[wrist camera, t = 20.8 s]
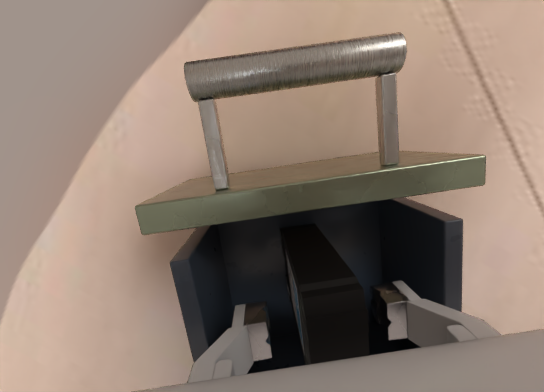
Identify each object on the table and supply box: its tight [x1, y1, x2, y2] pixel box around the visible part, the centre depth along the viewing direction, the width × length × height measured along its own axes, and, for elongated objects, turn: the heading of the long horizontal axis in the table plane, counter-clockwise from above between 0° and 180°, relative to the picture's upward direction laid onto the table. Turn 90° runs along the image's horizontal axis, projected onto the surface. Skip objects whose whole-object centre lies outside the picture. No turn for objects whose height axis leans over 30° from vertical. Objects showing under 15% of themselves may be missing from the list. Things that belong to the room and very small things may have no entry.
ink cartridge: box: [280, 223, 370, 365], centre depth 13 cm, size 5×2×8 cm, turn 7°
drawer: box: [135, 32, 486, 374], centre depth 14 cm, size 17×13×7 cm
